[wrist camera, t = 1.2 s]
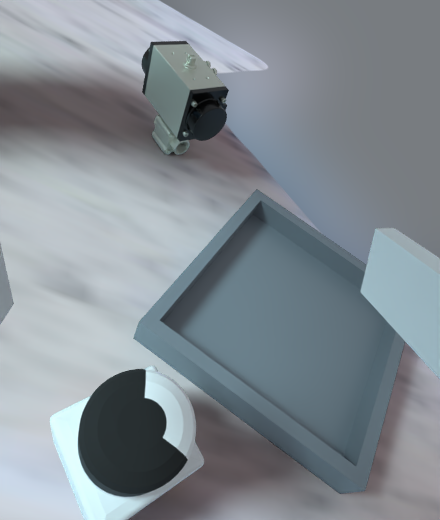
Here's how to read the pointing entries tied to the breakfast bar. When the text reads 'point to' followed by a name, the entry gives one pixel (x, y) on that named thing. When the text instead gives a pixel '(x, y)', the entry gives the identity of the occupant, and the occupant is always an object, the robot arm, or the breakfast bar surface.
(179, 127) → the pneumatic valve
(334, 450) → the tray
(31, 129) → the breakfast bar surface
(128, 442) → the medicine bottle
